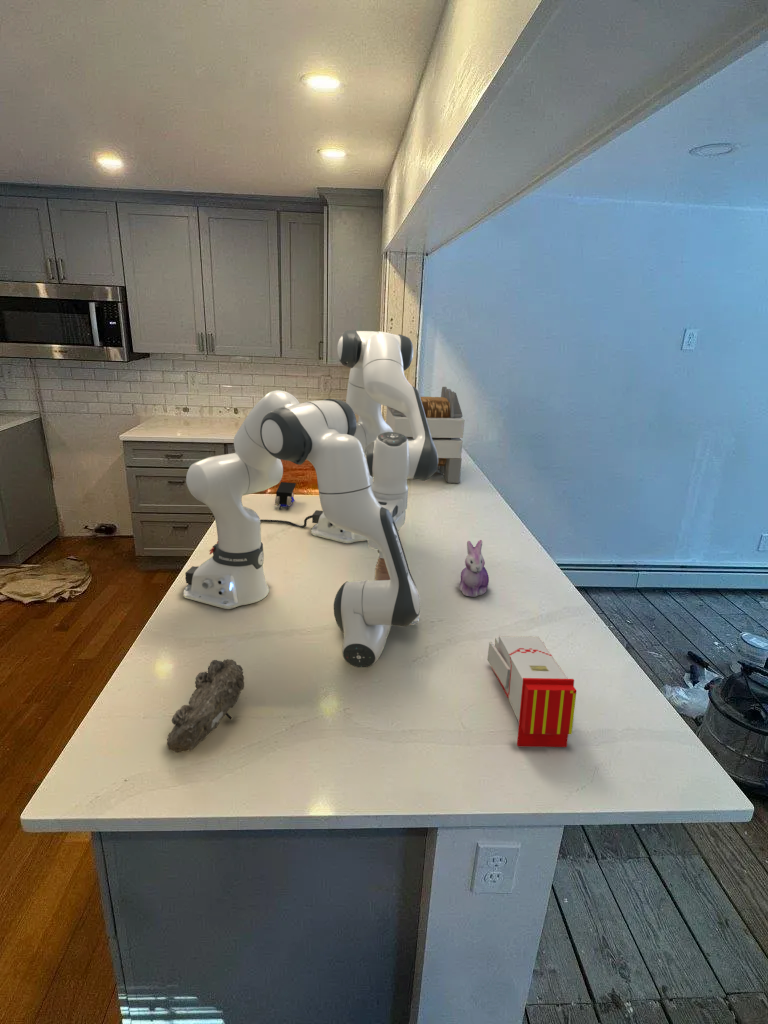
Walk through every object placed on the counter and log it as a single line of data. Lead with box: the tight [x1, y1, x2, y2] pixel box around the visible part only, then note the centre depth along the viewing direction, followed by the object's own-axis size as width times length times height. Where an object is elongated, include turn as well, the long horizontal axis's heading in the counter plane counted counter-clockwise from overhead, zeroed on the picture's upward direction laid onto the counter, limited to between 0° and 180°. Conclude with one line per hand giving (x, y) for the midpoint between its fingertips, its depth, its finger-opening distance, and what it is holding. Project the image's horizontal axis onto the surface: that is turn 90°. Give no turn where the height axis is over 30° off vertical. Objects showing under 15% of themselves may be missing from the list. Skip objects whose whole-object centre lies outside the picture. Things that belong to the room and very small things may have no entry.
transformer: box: [385, 386, 465, 484], centre depth 268 cm, size 34×33×41 cm
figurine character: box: [274, 481, 297, 510], centre depth 222 cm, size 7×8×15 cm
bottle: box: [374, 556, 390, 581], centre depth 145 cm, size 5×5×19 cm
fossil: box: [166, 658, 245, 754], centre depth 106 cm, size 22×10×15 cm
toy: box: [486, 635, 577, 748], centre depth 115 cm, size 12×13×30 cm
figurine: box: [459, 539, 490, 598], centre depth 159 cm, size 9×10×15 cm
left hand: (384, 592), depth 147 cm, fingers closed on bottle, 5 cm apart
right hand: (386, 552), depth 142 cm, fingers closed on cap, 4 cm apart
